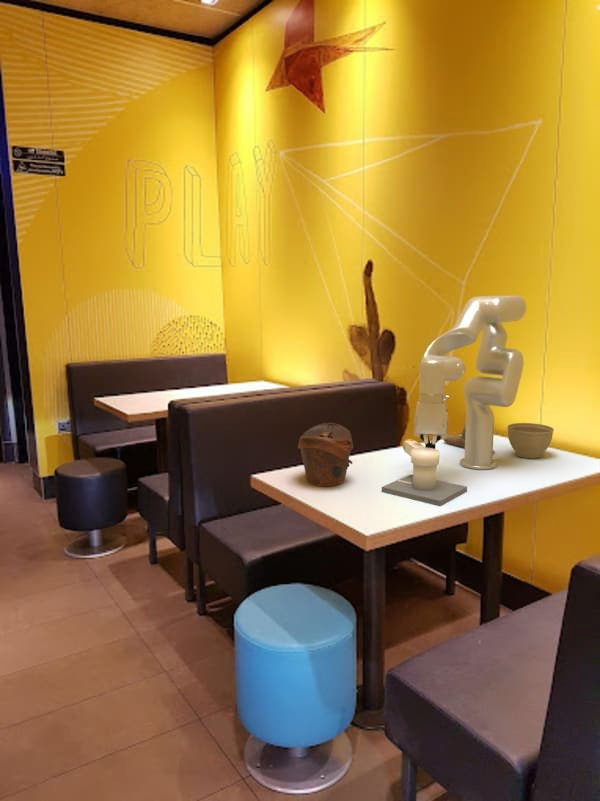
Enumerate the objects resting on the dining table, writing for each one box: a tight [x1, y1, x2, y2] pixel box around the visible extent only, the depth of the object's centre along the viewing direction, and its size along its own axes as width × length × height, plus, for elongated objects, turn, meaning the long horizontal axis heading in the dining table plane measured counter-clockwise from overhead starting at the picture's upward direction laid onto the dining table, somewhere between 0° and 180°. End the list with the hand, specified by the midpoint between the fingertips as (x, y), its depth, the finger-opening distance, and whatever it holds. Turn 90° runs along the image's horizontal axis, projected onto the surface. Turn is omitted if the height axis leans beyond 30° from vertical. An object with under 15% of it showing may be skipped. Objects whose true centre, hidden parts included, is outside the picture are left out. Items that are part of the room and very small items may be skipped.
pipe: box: [442, 423, 466, 449], centre depth 237 cm, size 6×17×10 cm, turn 33°
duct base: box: [381, 463, 468, 507], centre depth 183 cm, size 17×20×9 cm
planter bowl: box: [506, 422, 555, 459], centre depth 222 cm, size 16×16×11 cm
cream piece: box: [402, 438, 440, 466], centre depth 186 cm, size 18×8×4 cm, turn 10°
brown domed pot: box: [297, 422, 354, 487], centre depth 193 cm, size 18×20×18 cm
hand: (430, 455), depth 188 cm, fingers closed
